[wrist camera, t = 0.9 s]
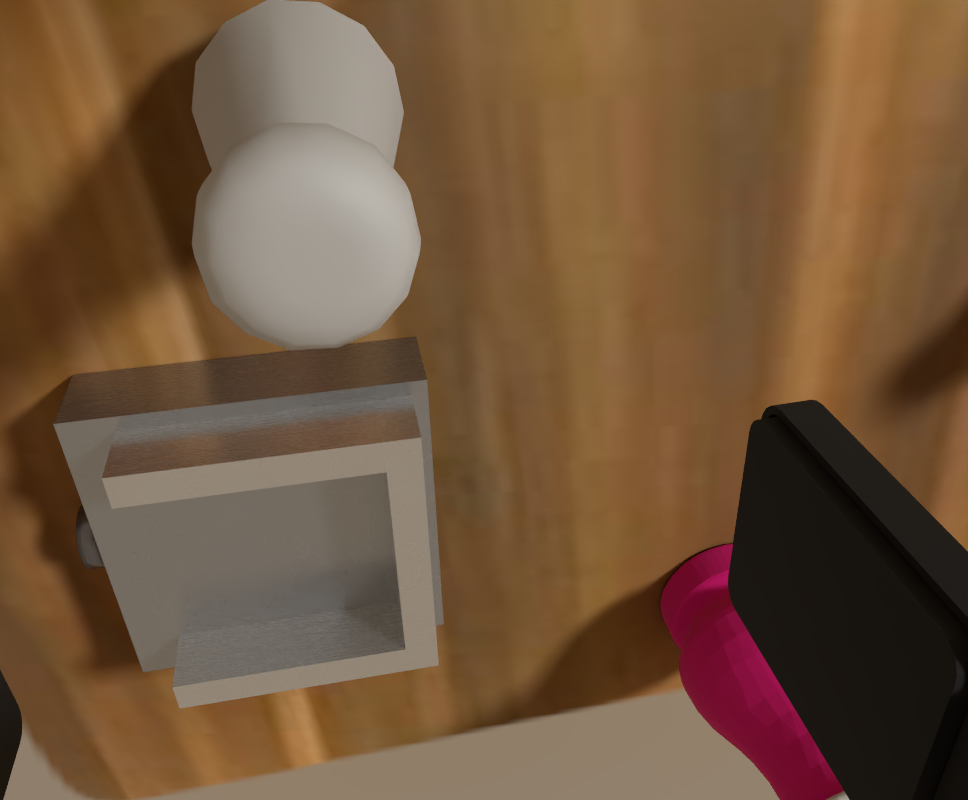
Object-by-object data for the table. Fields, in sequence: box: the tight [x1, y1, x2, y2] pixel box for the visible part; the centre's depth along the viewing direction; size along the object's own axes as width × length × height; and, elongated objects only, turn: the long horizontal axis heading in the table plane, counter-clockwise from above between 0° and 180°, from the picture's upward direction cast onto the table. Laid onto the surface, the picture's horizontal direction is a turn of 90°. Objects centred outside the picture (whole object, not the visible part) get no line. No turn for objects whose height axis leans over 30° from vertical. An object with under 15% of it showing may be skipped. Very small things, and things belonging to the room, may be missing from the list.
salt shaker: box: [192, 0, 421, 350], centre depth 21 cm, size 6×6×13 cm
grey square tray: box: [53, 337, 444, 708], centre depth 32 cm, size 12×13×6 cm
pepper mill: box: [660, 544, 849, 800], centre depth 35 cm, size 7×7×20 cm
